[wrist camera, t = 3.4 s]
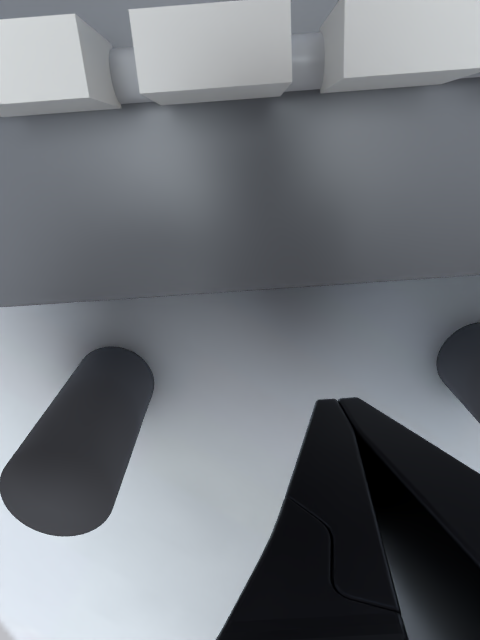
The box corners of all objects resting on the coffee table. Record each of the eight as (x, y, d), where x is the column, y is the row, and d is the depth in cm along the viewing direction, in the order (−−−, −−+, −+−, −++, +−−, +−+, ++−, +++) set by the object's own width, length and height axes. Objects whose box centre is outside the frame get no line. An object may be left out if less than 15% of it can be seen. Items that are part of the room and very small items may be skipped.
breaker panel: (606, 249, 15) (716, 279, 12) (-15, 291, 16) (-87, 332, 12) (717, -222, 11) (941, -395, 8) (-142, -148, 12) (-310, -279, 8)
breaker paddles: (644, 71, 11) (788, 44, 8) (-41, 122, 12) (-135, 114, 9) (659, 7, 11) (817, -46, 8) (-58, 62, 11) (-163, 32, 8)
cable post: (158, 412, 18) (123, 533, 12) (85, 416, 18) (15, 539, 12) (148, 344, 17) (103, 443, 11) (69, 349, 17) (-15, 450, 11)
